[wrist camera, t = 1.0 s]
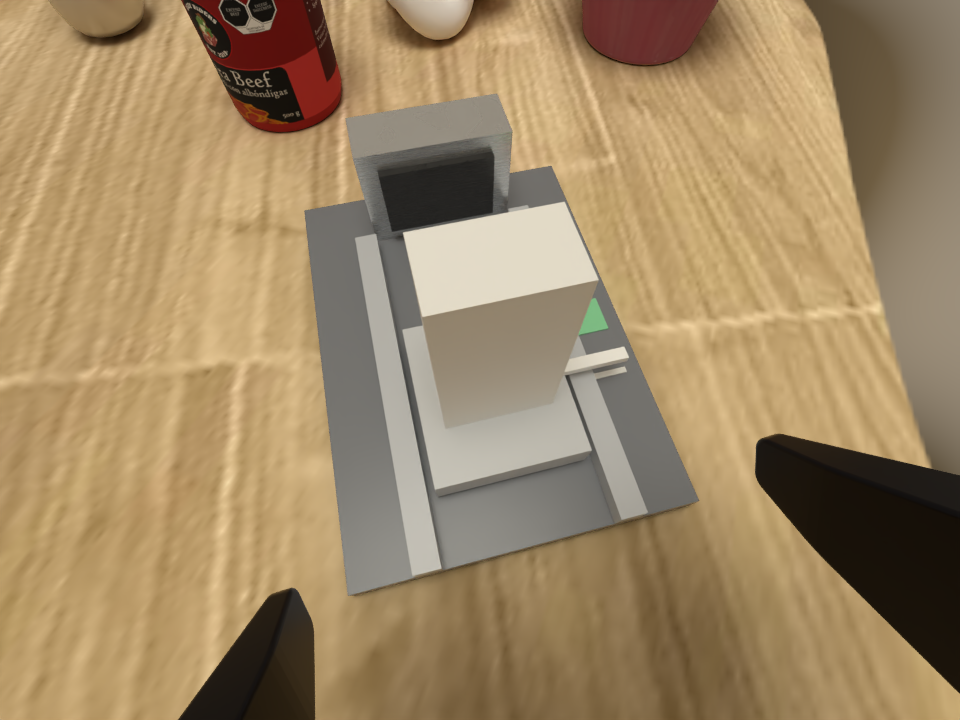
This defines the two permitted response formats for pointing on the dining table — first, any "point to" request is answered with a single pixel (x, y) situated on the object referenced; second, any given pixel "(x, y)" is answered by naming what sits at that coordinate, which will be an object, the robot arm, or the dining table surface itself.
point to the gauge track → (399, 435)
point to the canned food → (271, 59)
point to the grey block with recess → (432, 163)
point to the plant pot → (644, 28)
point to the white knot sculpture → (434, 16)
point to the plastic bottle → (100, 15)
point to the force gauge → (500, 344)
